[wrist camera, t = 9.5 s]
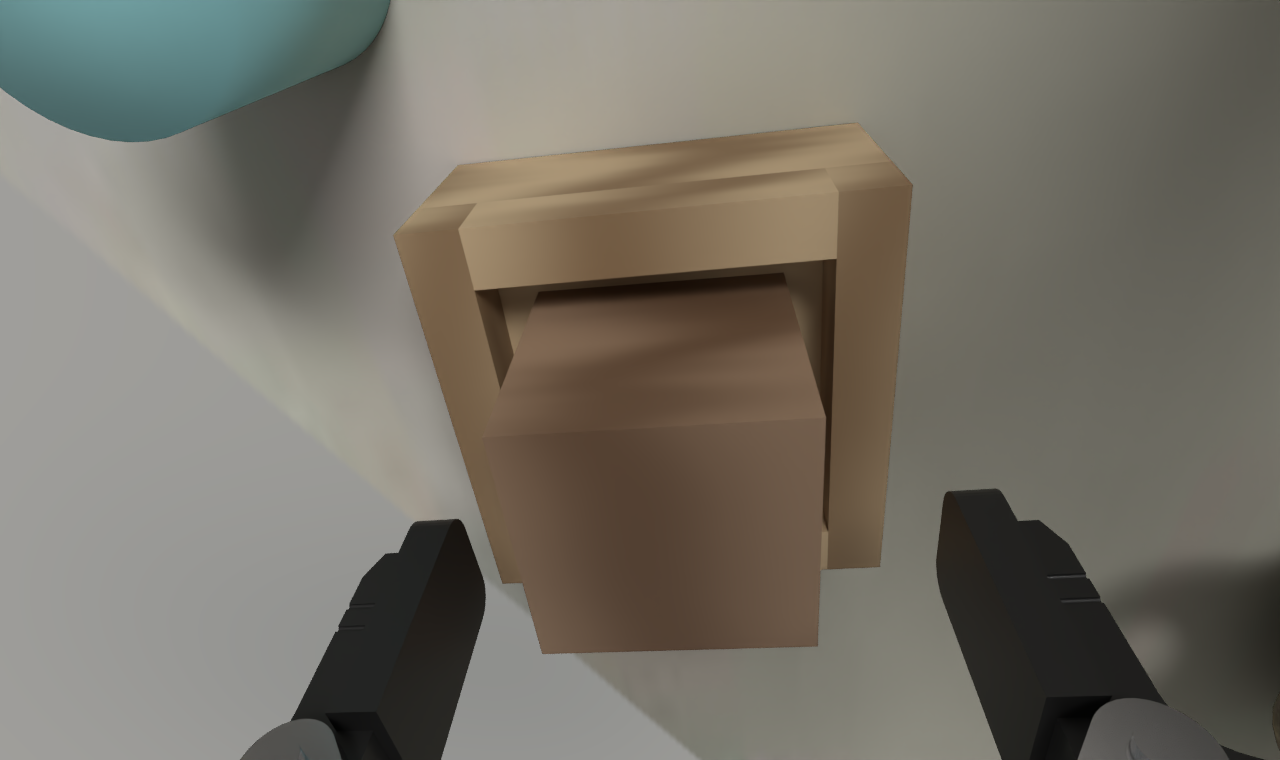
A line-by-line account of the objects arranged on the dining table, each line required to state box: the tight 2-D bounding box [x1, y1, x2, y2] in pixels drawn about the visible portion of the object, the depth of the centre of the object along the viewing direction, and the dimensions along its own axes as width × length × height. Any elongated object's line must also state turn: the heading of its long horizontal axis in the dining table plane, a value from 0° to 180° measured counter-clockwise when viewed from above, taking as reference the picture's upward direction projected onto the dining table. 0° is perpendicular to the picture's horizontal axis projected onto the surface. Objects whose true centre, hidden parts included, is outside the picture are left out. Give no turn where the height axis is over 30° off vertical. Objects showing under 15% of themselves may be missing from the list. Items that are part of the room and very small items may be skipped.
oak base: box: [393, 123, 913, 584], centre depth 17 cm, size 9×9×4 cm
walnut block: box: [482, 273, 826, 654], centre depth 14 cm, size 5×5×5 cm
